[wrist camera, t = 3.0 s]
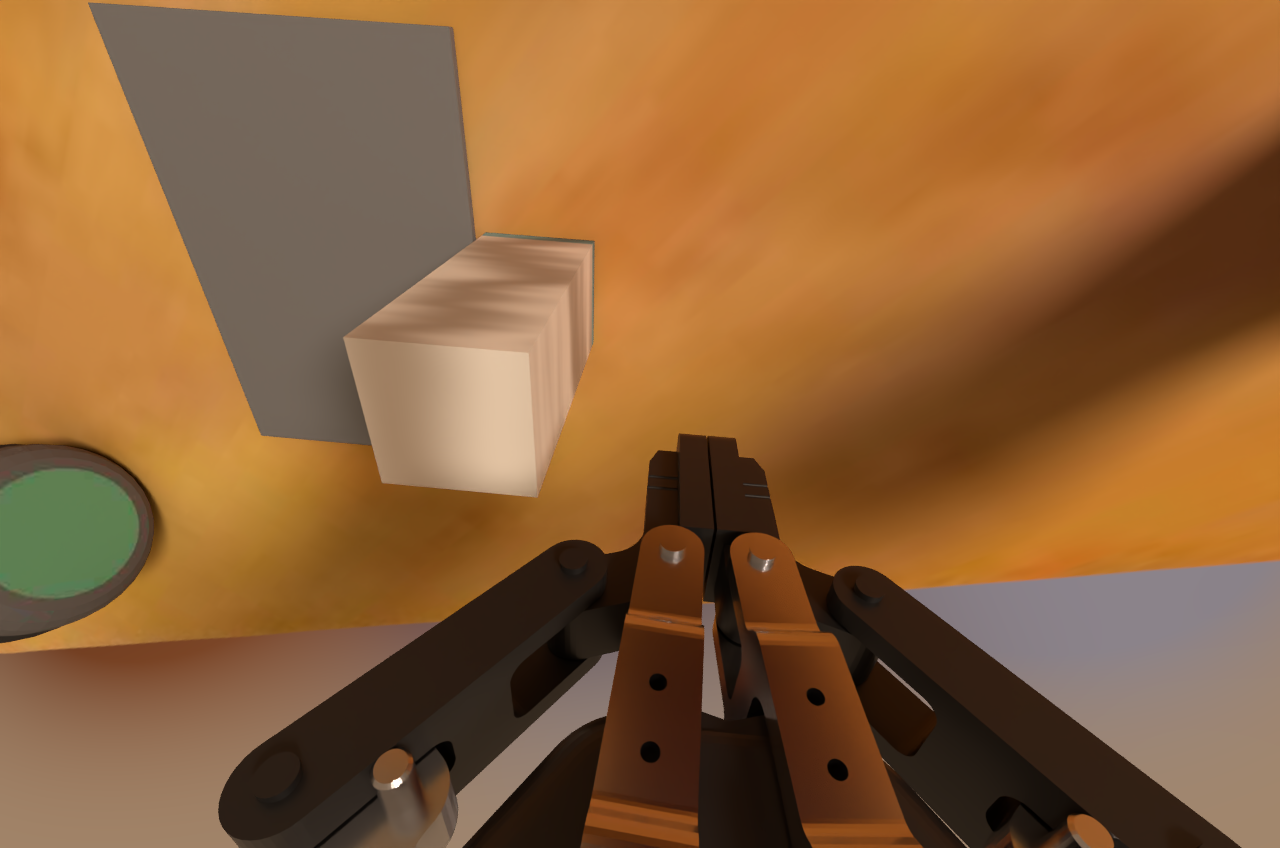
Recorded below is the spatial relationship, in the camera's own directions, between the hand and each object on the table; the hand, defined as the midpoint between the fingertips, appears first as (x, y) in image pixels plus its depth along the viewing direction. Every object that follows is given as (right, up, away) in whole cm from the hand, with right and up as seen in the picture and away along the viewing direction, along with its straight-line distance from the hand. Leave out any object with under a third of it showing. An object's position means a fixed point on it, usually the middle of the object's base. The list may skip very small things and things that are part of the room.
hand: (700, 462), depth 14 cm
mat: (-16, +8, +11) cm, 22 cm away
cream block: (-6, +7, +11) cm, 15 cm away
